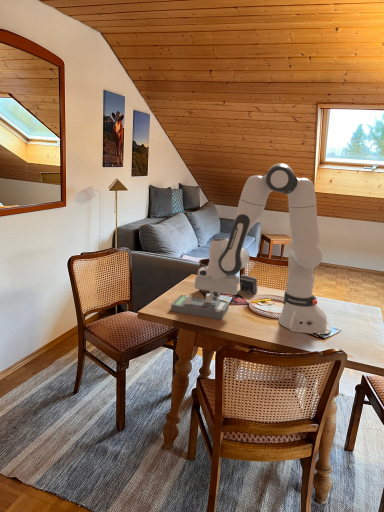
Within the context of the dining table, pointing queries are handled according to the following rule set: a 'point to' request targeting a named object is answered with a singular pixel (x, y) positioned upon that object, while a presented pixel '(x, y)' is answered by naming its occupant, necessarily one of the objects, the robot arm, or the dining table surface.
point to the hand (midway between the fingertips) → (214, 300)
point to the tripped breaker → (208, 298)
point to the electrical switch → (248, 284)
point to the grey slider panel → (200, 307)
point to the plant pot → (204, 264)
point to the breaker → (188, 299)
